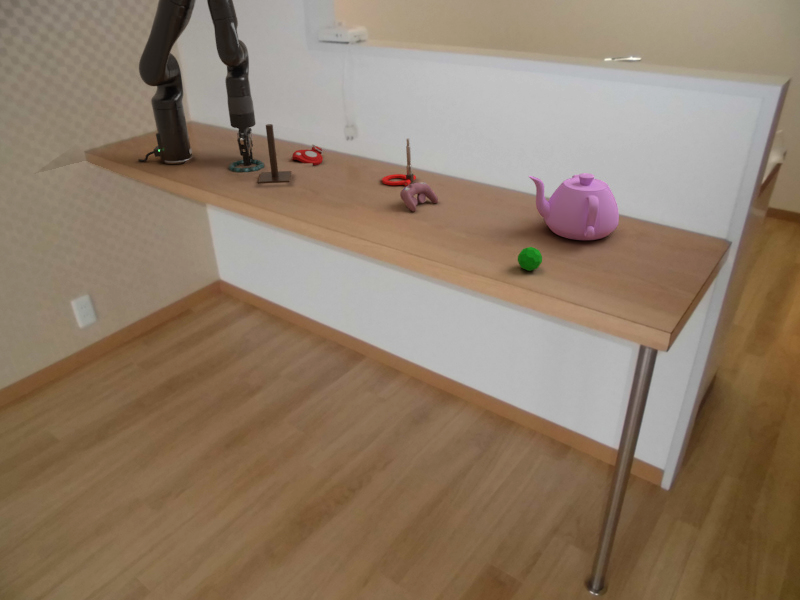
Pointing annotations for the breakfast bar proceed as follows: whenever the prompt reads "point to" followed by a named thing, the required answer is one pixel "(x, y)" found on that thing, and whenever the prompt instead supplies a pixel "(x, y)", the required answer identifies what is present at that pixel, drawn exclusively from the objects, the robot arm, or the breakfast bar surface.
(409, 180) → the tow hook
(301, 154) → the tracker holder
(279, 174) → the brown peg stand
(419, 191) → the video game controller
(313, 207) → the breakfast bar surface
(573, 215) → the teapot
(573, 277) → the breakfast bar surface
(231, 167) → the ring
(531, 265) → the polyhedron
